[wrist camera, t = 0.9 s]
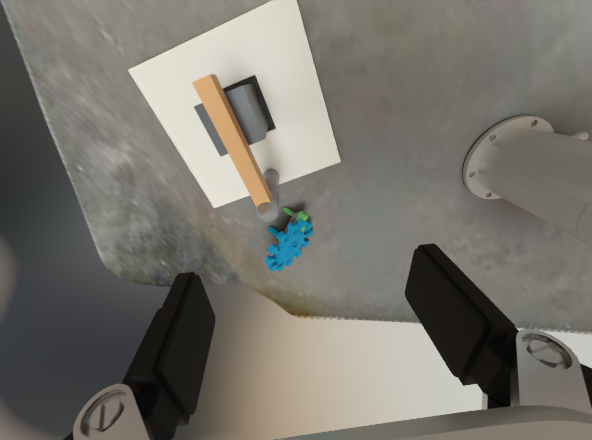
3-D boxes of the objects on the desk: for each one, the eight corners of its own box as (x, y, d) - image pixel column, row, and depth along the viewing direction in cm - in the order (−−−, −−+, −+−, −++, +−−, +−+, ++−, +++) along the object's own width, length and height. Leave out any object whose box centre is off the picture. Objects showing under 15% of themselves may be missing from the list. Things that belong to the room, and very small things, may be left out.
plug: (253, 82, 30) (242, 85, 22) (269, 122, 33) (265, 139, 24) (218, 98, 31) (193, 106, 22) (236, 136, 33) (220, 156, 25)
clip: (222, 72, 21) (214, 72, 19) (281, 205, 28) (282, 217, 26) (198, 83, 22) (187, 84, 19) (263, 211, 29) (261, 224, 26)
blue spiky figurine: (298, 267, 44) (261, 280, 36) (276, 248, 47) (237, 256, 38) (327, 216, 41) (293, 217, 32) (301, 199, 43) (265, 196, 35)
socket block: (292, -5, 26) (297, -40, 18) (338, 157, 35) (354, 180, 28) (137, 70, 29) (82, 67, 21) (217, 202, 38) (200, 235, 30)
